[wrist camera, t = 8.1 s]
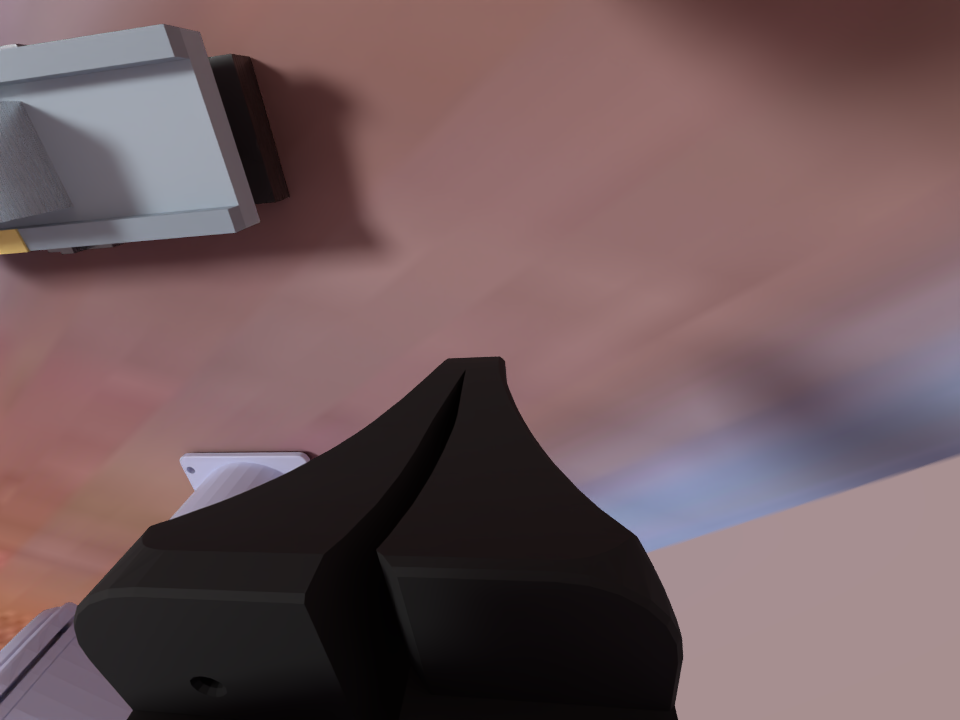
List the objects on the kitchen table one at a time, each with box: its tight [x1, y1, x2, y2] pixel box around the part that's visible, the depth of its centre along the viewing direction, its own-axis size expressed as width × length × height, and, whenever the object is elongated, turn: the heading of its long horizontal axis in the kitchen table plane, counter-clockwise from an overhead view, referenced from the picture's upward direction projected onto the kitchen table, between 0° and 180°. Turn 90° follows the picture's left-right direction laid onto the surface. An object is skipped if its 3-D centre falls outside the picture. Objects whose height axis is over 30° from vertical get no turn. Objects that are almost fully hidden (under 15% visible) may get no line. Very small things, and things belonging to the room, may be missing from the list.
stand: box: [0, 44, 290, 254], centre depth 19 cm, size 7×18×2 cm, turn 96°
